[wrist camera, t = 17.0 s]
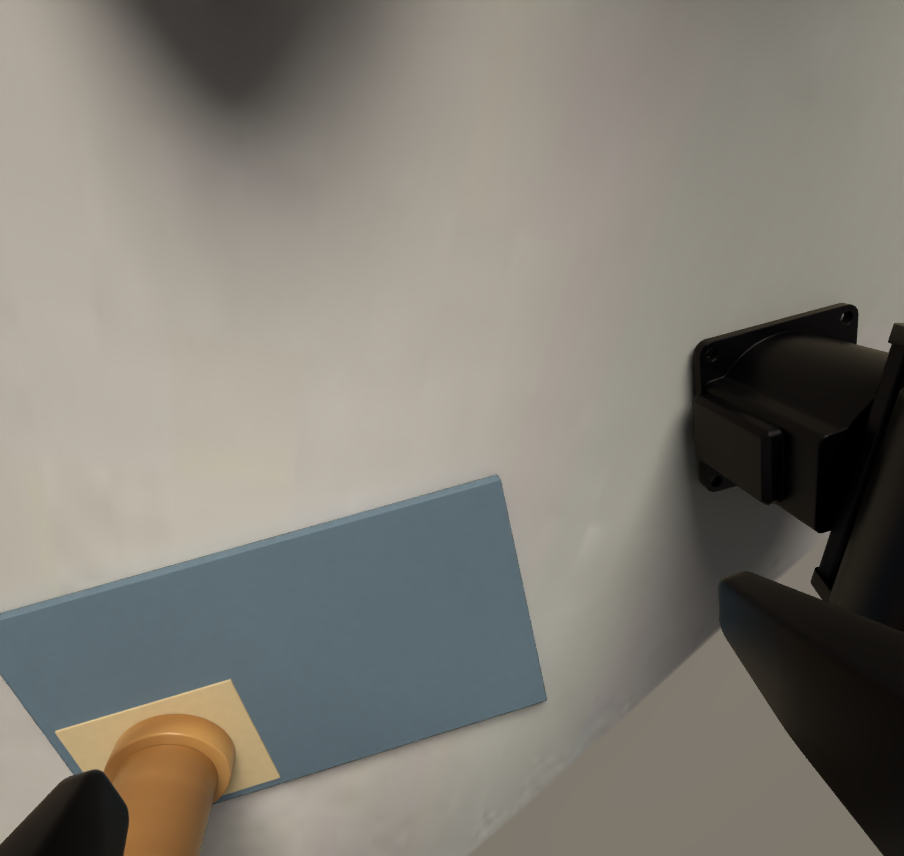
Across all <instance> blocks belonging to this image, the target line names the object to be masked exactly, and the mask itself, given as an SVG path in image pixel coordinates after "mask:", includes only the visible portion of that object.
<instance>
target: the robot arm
mask: <svg viewBox="0 0 904 856" xmlns="http://www.w3.org/2000/svg"><path fill="white" fill-rule="evenodd" d="M843 313H844V317H843V319H842V320H841V321H840V319H841V316H842V315H843ZM857 328H858V309H857V308H856V307H855V306H853V305H850V304H845V303H839V304H835V305H831V306H827V307H824V308H820V309H816V310H813V311H809V312H805V313H801V314H798V315H794V316H790V317H786V318H783V319H779V320H775V321H772V322H768V323H764V324H760V325H757V326H753V327H749V328H746V329H742V330H738V331H734V332H731V333H727V334H723V335H719V336H716V337H712V338H708V339H705V340H703V341H701V342H700V343H699V344H698V345H697V346H696V348H695V350H694V372H695V392H696V397H695V399H694V401H693V411H694V430H695V449H696V456H697V457H698V458H699V473H700V482H701V484H702V485H703V486H704V487H705V488H706V489H708V490H709V491H712V492H716V491H720V490H724V489H727V488H731V487H734V486H737V485H738V486H739V487H740V488H742V489H743V490H745V491H746V492H747V493H749V494H750V495H752V496H753V497H755V498H756V499H757V500H759V501H760V502H762V503H764V504H766V505H771V504H774V503H775V504H777V505H778V506H780V507H781V508H783V509H784V510H786V511H787V512H789V513H790V514H792V515H793V516H794V517H796V518H797V519H799V520H800V521H802V522H803V523H805V524H806V525H808V526H809V527H811V528H812V529H814V530H815V531H817V532H818V533H825V532H828V531H831V532H830V535H829V538H828V541H827V545H826V548H825V551H824V554H823V557H822V560H821V563H820V566H819V567H816V568H815V570H814V573H813V576H812V579H811V584H812V586H813V587H814V589H815V590H816V592H817V593H818V594H819V596H820V597H821V599H822V600H821V599H818V598H816V597H813V596H810V595H808V594H805V593H803V592H800V591H798V590H795V589H793V588H790V587H787V586H785V585H782V584H779V583H777V582H775V581H772V580H769V579H767V578H764V577H762V576H759V575H757V574H754V573H751V572H740V573H737V574H733V575H730V576H727V577H724V578H722V579H721V580H720V581H719V584H718V599H719V621H720V626H721V629H722V631H723V633H724V636H725V637H726V639H727V641H728V642H729V644H730V645H731V647H732V648H733V650H734V651H735V653H736V655H737V656H738V658H739V659H740V661H741V662H742V664H743V665H744V667H745V668H746V670H747V671H748V673H749V674H750V676H751V678H752V679H753V681H754V682H755V684H756V685H757V687H758V689H759V690H760V692H761V693H762V695H763V696H764V698H765V699H766V701H767V702H768V704H769V706H770V707H771V709H772V710H773V712H774V713H775V715H776V716H777V718H778V719H779V721H780V722H781V724H782V725H783V727H784V728H785V730H786V731H787V733H788V734H789V736H790V737H791V738H792V740H793V741H794V742H795V744H796V745H797V746H798V747H799V749H800V750H801V752H802V753H803V754H804V755H805V757H806V758H807V759H808V760H809V762H810V763H811V764H812V766H813V767H814V768H815V769H816V771H817V772H818V773H819V774H820V776H821V777H822V778H823V780H824V781H825V782H826V783H827V784H828V786H829V787H830V788H831V789H832V791H833V792H834V793H835V795H836V796H837V797H838V799H839V800H840V801H841V802H842V804H843V805H844V806H845V807H846V809H847V810H848V811H849V812H850V814H851V815H852V816H853V818H854V819H855V820H856V821H857V823H858V824H859V825H860V826H861V828H862V829H863V830H864V832H865V833H866V834H867V835H868V836H869V838H870V839H871V840H872V842H873V843H874V844H875V845H876V847H877V848H878V849H879V851H880V852H881V853H882V854H883V855H884V856H904V323H894V325H893V328H892V331H891V334H890V337H889V340H888V342H889V343H891V344H892V345H891V348H890V351H889V353H887V352H884V351H880V350H876V349H872V348H868V347H864V346H860V345H856V343H857ZM711 348H712V354H711V355H710V356H709V357H708V358H706V353H707V351H708V350H709V349H711ZM715 476H716V479H715V480H714V481H712V482H711V480H712V479H713V477H715ZM128 828H129V812H128V808H127V805H126V803H125V802H124V800H123V799H122V797H121V796H120V795H119V793H118V792H117V790H116V789H115V787H114V786H113V785H112V783H111V782H110V780H109V779H108V777H107V776H106V775H105V773H104V772H103V771H100V770H98V769H93V770H89V771H86V772H83V773H79V774H76V775H73V776H70V777H68V778H66V779H64V780H63V781H61V782H60V783H59V784H58V785H57V786H56V787H55V788H54V789H53V790H52V791H51V792H50V793H49V795H48V796H47V797H46V798H45V799H44V800H43V801H42V802H41V803H40V804H39V805H38V806H37V807H36V808H35V809H34V810H33V811H32V812H31V813H30V814H29V815H28V816H27V817H26V818H25V820H24V821H23V822H22V823H21V824H20V825H19V826H18V827H17V828H16V829H15V830H14V831H13V832H12V833H11V834H10V835H9V836H8V837H7V838H6V839H5V840H4V841H3V842H2V843H1V844H0V856H124V851H125V845H126V839H127V833H128Z"/></svg>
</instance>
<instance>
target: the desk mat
mask: <svg viewBox="0 0 904 856" xmlns="http://www.w3.org/2000/svg"><path fill="white" fill-rule="evenodd" d="M0 675H1V676H2V677H3V679H4V680H5V681H6V683H7V684H8V686H9V687H10V688H11V690H12V691H13V692H14V694H15V695H16V696H17V698H18V699H19V701H20V702H21V703H22V705H23V706H24V707H25V709H26V710H27V712H28V713H29V714H30V716H31V717H32V718H33V720H34V721H35V722H36V724H37V725H38V727H39V728H40V729H41V731H42V732H43V733H44V735H45V736H46V738H47V739H48V740H49V742H50V743H51V744H52V746H53V747H54V748H55V750H56V751H57V753H58V754H59V755H60V757H61V758H62V759H63V761H64V762H65V764H66V765H67V766H68V768H69V769H70V770H71V772H72V773H73V774H74V775H76V774H79V773H83V772H86V771H89V770H93V769H98V770H100V771H103V772H104V768H105V765H106V763H107V761H108V759H109V757H110V754H111V752H112V750H113V748H114V745H115V743H116V742H117V740H118V739H119V737H120V736H121V735H122V734H123V733H124V732H125V731H126V730H128V729H129V728H130V727H132V726H133V725H135V724H136V723H138V722H140V721H142V720H145V719H148V718H150V717H154V716H158V715H165V714H188V715H194V716H198V717H201V718H204V719H207V720H209V721H211V722H213V723H215V724H216V725H218V726H219V727H221V728H222V729H223V730H224V731H225V732H226V733H227V734H228V735H229V737H230V738H231V740H232V742H233V745H234V749H235V762H234V766H233V771H232V775H231V780H230V783H229V786H228V787H227V789H226V791H225V792H224V794H223V795H222V796H221V797H220V798H219V799H218V800H217V801H216V802H215V803H214V804H216V803H219V802H223V801H226V800H229V799H232V798H235V797H239V796H242V795H245V794H248V793H251V792H255V791H258V790H261V789H264V788H267V787H271V786H274V785H277V784H280V783H283V782H287V781H290V780H293V779H296V778H300V777H303V776H306V775H309V774H312V773H316V772H319V771H322V770H325V769H328V768H332V767H335V766H338V765H341V764H344V763H348V762H351V761H354V760H357V759H361V758H364V757H367V756H370V755H373V754H377V753H380V752H383V751H386V750H389V749H393V748H396V747H399V746H402V745H405V744H409V743H412V742H415V741H418V740H421V739H425V738H428V737H431V736H434V735H438V734H441V733H444V732H447V731H450V730H454V729H457V728H460V727H463V726H466V725H470V724H473V723H476V722H479V721H482V720H486V719H489V718H492V717H495V716H498V715H502V714H505V713H508V712H511V711H515V710H518V709H521V708H524V707H527V706H531V705H534V704H537V703H540V702H543V701H546V700H547V697H546V692H545V687H544V683H543V678H542V673H541V668H540V664H539V659H538V654H537V649H536V645H535V640H534V635H533V630H532V626H531V621H530V616H529V611H528V607H527V602H526V597H525V592H524V588H523V583H522V578H521V573H520V569H519V564H518V559H517V554H516V550H515V545H514V540H513V535H512V531H511V526H510V521H509V516H508V512H507V507H506V502H505V497H504V493H503V488H502V483H501V479H500V478H499V476H498V475H494V476H490V477H487V478H483V479H479V480H476V481H472V482H469V483H465V484H462V485H458V486H454V487H451V488H447V489H444V490H440V491H436V492H433V493H429V494H426V495H422V496H419V497H415V498H411V499H408V500H404V501H401V502H397V503H394V504H390V505H386V506H383V507H379V508H376V509H372V510H368V511H365V512H361V513H358V514H354V515H351V516H347V517H343V518H340V519H336V520H333V521H329V522H325V523H322V524H318V525H315V526H311V527H308V528H304V529H300V530H297V531H293V532H290V533H286V534H283V535H279V536H275V537H272V538H268V539H265V540H261V541H257V542H254V543H250V544H247V545H243V546H240V547H236V548H232V549H229V550H225V551H222V552H218V553H214V554H211V555H207V556H204V557H200V558H197V559H193V560H189V561H186V562H182V563H179V564H175V565H172V566H168V567H164V568H161V569H157V570H154V571H150V572H146V573H143V574H139V575H136V576H132V577H129V578H125V579H121V580H118V581H114V582H111V583H107V584H103V585H100V586H96V587H93V588H89V589H86V590H82V591H78V592H75V593H71V594H68V595H64V596H61V597H57V598H53V599H50V600H46V601H43V602H39V603H35V604H32V605H28V606H25V607H21V608H18V609H14V610H10V611H7V612H3V613H0ZM212 805H213V804H212Z"/></svg>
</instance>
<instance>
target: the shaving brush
mask: <svg viewBox="0 0 904 856" xmlns="http://www.w3.org/2000/svg"><path fill="white" fill-rule="evenodd" d="M234 762H235V749H234V745H233V742H232V740H231V738H230V737H229V735H228V734H227V733H226V732H225V731H224V730H223V729H222V728H221V727H219V726H218V725H216V724H215V723H213V722H211V721H209V720H207V719H204V718H201V717H198V716H194V715H188V714H165V715H158V716H154V717H150V718H148V719H145V720H142V721H140V722H138V723H136V724H135V725H133V726H132V727H130V728H129V729H128V730H126V731H125V732H124V733H123V734H122V735H121V736H120V737H119V739H118V740H117V742H116V743H115V745H114V748H113V750H112V752H111V754H110V757H109V759H108V761H107V763H106V765H105V768H104V773H105V775H106V776H107V777H108V779H109V780H110V782H111V783H112V785H113V786H114V787H115V789H116V790H117V792H118V793H119V795H120V796H121V797H122V799H123V800H124V802H125V803H126V805H127V808H128V812H129V828H128V833H127V839H126V845H125V851H124V856H199V855H200V851H201V847H202V843H203V839H204V835H205V831H206V826H207V822H208V818H209V814H210V810H211V806H212V804H214V803H215V802H216V801H217V800H218V799H219V798H220V797H221V796H222V795H223V794H224V792H225V791H226V789H227V787H228V786H229V783H230V780H231V775H232V771H233V766H234Z"/></svg>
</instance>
